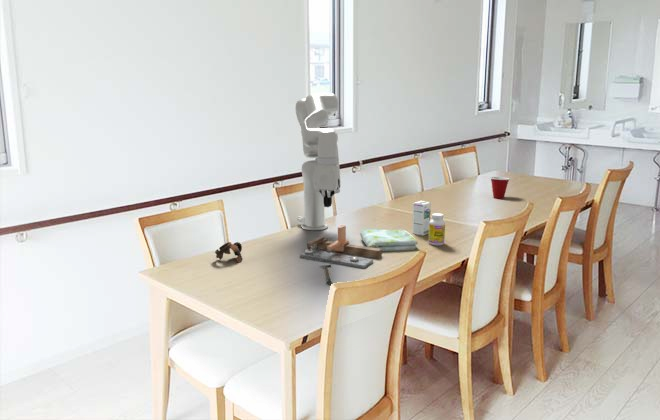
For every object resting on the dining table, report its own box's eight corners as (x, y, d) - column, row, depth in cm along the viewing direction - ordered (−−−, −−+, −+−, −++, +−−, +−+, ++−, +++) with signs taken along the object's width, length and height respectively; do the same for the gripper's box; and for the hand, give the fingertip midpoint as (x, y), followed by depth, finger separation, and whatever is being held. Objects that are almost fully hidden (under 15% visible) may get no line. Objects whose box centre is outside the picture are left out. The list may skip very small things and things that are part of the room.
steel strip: (299, 257, 229) (299, 252, 228) (309, 252, 236) (309, 246, 235) (364, 268, 216) (364, 262, 216) (372, 262, 223) (373, 256, 223)
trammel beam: (304, 255, 232) (303, 243, 231) (320, 246, 244) (320, 234, 242) (367, 265, 219) (368, 253, 218) (382, 255, 231) (382, 243, 230)
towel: (419, 250, 239) (419, 238, 238) (368, 253, 236) (368, 240, 235) (406, 238, 256) (406, 226, 255) (359, 240, 253) (359, 229, 252)
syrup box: (423, 235, 258) (424, 204, 255) (412, 233, 262) (413, 202, 259) (430, 233, 262) (431, 202, 259) (419, 230, 266) (420, 200, 263)
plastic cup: (510, 197, 335) (512, 176, 332) (505, 200, 326) (506, 179, 323) (492, 195, 341) (493, 175, 338) (486, 198, 332) (487, 177, 329)
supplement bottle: (432, 246, 243) (433, 216, 240) (425, 242, 249) (426, 213, 246) (447, 245, 245) (448, 215, 241) (440, 240, 251) (441, 212, 248)
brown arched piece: (236, 266, 220) (224, 249, 218) (220, 273, 225) (208, 256, 223) (252, 250, 230) (240, 233, 228) (236, 257, 235) (224, 240, 233)
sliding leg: (323, 256, 228) (323, 233, 225) (340, 246, 240) (340, 224, 238) (332, 257, 226) (332, 234, 223) (349, 247, 238) (349, 225, 236)
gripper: (306, 161, 231) (307, 206, 235) (339, 163, 224) (339, 210, 228) (315, 159, 238) (316, 203, 242) (348, 161, 231) (348, 206, 235)
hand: (327, 206), depth 235 cm, fingers closed
